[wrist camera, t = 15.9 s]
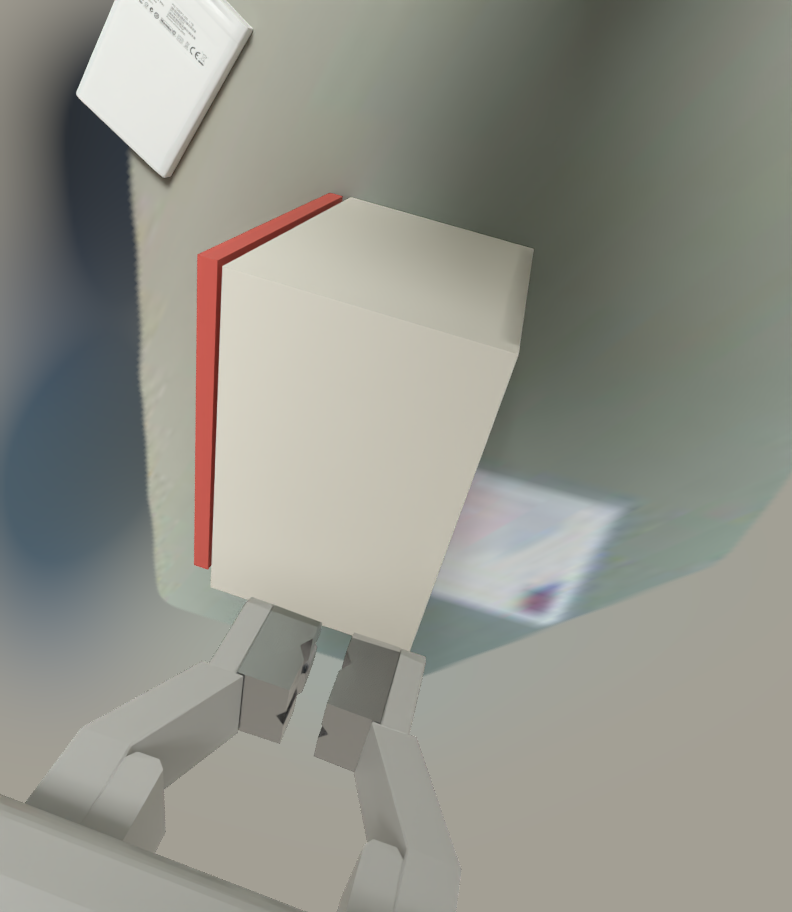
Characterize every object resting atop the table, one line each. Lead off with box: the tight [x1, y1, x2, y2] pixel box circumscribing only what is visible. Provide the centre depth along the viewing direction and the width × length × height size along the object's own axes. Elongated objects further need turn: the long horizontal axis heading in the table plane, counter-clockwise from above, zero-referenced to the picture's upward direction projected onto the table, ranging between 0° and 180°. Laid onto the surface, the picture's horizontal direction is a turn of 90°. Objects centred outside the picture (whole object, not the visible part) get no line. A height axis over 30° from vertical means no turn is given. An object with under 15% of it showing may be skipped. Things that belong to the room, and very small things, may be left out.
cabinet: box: [211, 197, 534, 651], centre depth 40 cm, size 22×14×20 cm, turn 167°
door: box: [194, 193, 343, 569], centre depth 41 cm, size 21×3×19 cm, turn 167°
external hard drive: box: [76, 0, 253, 178], centre depth 41 cm, size 2×8×12 cm
